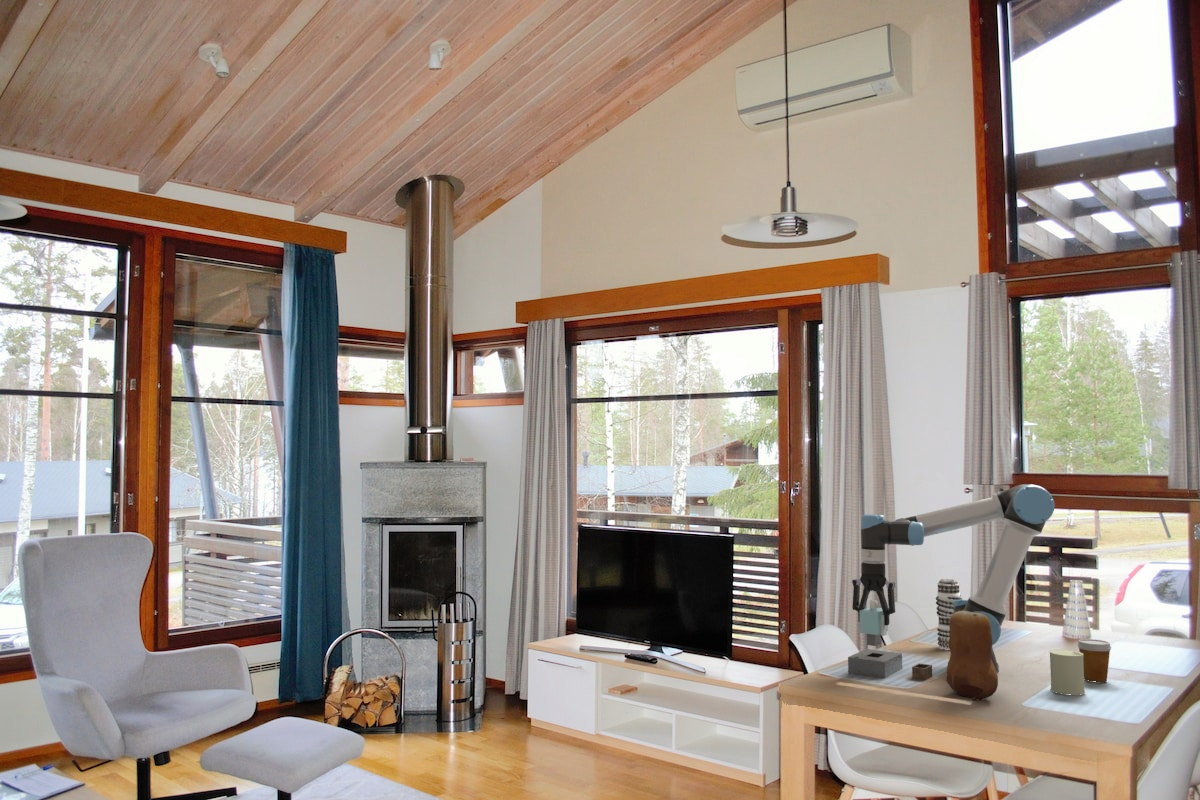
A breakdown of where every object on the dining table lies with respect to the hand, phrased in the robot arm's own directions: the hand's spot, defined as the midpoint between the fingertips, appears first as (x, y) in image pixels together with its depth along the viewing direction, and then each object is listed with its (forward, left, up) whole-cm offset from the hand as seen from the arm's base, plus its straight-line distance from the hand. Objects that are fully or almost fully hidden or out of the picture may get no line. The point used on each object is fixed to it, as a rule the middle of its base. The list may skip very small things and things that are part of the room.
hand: (873, 633), depth 298 cm
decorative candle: (+22, -52, -13) cm, 58 cm away
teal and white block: (0, 0, -3) cm, 3 cm away
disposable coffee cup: (-34, -58, -13) cm, 69 cm away
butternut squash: (-36, -6, -13) cm, 38 cm away
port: (0, 0, -13) cm, 13 cm away
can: (-41, -38, -13) cm, 57 cm away
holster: (-13, -8, -13) cm, 20 cm away
